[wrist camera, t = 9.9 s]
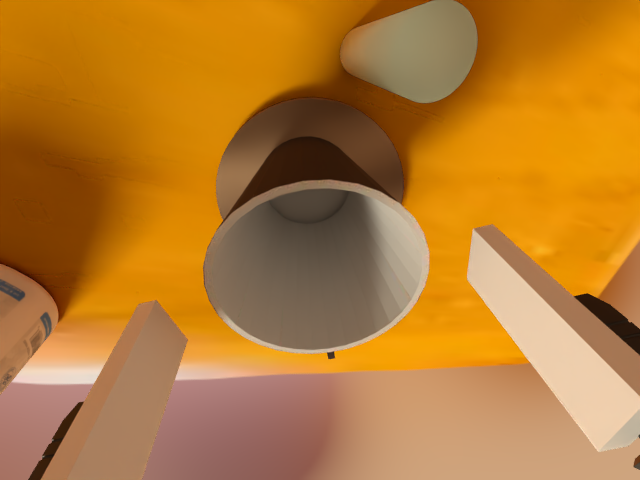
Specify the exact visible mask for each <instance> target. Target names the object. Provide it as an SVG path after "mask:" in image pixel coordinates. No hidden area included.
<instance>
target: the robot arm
mask: <svg viewBox="0 0 640 480" xmlns="http://www.w3.org/2000/svg"><path fill="white" fill-rule="evenodd" d="M467 280H468V281H469V282H470V284H471V285H472V286H473V287H474V289H475V290H476V291H477V293H478V294H479V295H480V297H481V298H482V299H483V301H484V302H485V303H486V305H487V306H488V307H489V309H490V310H491V311H492V313H493V314H494V315H495V316H496V318H497V319H498V320H499V322H500V323H501V324H502V326H503V327H504V328H505V330H506V331H507V332H508V334H509V335H510V336H511V338H512V339H513V340H514V342H515V343H516V344H517V345H518V347H519V348H520V349H521V351H522V352H523V353H524V355H525V356H526V357H527V359H528V360H529V361H530V363H531V364H532V365H533V367H534V368H535V369H536V371H537V372H538V373H539V374H540V376H541V377H542V378H543V380H544V381H545V382H546V384H547V385H548V386H549V388H550V389H551V390H552V392H553V393H554V394H555V396H556V397H557V398H558V399H559V401H560V402H561V403H562V405H563V406H564V407H565V409H566V410H567V411H568V413H569V414H570V415H571V417H572V418H573V419H574V421H575V422H576V423H577V425H578V426H579V427H580V428H581V430H582V431H583V432H584V434H585V435H586V436H587V438H588V439H589V440H590V442H591V443H592V444H593V446H594V447H595V448H596V450H598V452H600V451H606V450H611V449H616V448H621V447H626V446H629V445H630V444H631V443H632V442H633V441H634V440H635V439H637V438H638V437H639V438H640V329H639V328H638V327H637V326H635V325H634V324H633V323H632V322H631V323H630V322H628V319H627V318H626V317H624V316H623V315H622V314H621V313H619V312H618V311H617V310H616V309H615V308H613V307H612V306H611V305H610V304H608V303H606V302H604V301H602V300H600V299H598V298H596V297H594V296H592V295H590V294H588V293H587V294H582V295H578V296H572V295H571V294H570V293H569V292H568V291H567V290H566V289H565V288H563V287H562V286H561V285H560V284H559V283H558V282H557V281H556V280H554V279H553V278H552V277H551V276H550V275H549V274H548V273H547V272H545V271H544V270H543V269H542V268H541V267H540V266H539V265H538V264H536V263H535V262H534V261H533V260H532V259H531V258H530V257H529V256H527V255H526V254H525V253H524V252H523V251H522V250H521V249H520V248H519V247H517V246H516V245H515V244H514V243H513V242H512V241H511V240H510V239H508V238H507V237H506V236H505V235H504V234H503V233H502V232H501V231H499V230H498V229H497V228H496V227H495V226H494V225H493V224H492V225H487V226H483V227H479V228H474V229H473V234H472V242H471V250H470V258H469V266H468V274H467ZM187 341H188V339H187V338H186V337H185V336H184V334H183V333H182V332H181V331H180V329H179V328H178V327H177V326H176V324H175V323H174V322H173V321H172V319H171V318H170V317H169V316H168V314H167V313H166V312H165V311H164V309H163V308H162V307H161V305H160V304H159V303H158V302H157V300H155V301H151V302H146V303H142V304H139V305H138V306H137V308H136V310H135V312H134V314H133V315H132V317H131V319H130V321H129V322H128V324H127V326H126V328H125V330H124V331H123V333H122V335H121V337H120V339H119V340H118V342H117V344H116V346H115V347H114V349H113V351H112V353H111V355H110V356H109V358H108V360H107V362H106V364H105V365H104V367H103V369H102V371H101V373H100V374H99V376H98V378H97V380H96V381H95V383H94V385H93V387H92V389H91V391H90V392H89V394H88V396H87V398H86V399H85V401H84V402H79V403H78V404H77V405H76V406H75V408H73V410H72V411H71V412H70V413H69V414H68V415H67V417H66V418H65V419H64V420H63V421H62V423H61V425H60V427H59V428H58V430H57V432H56V433H55V435H54V437H53V438H52V443H51V444H49V445H48V447H47V449H46V450H45V452H44V454H43V456H42V460H41V461H39V462H38V464H37V466H36V467H35V470H34V471H33V472H32V474H31V476H30V478H29V479H28V480H142V477H143V474H144V471H145V468H146V465H147V462H148V459H149V456H150V453H151V450H152V447H153V444H154V441H155V438H156V435H157V432H158V429H159V426H160V423H161V419H162V416H163V414H164V411H165V407H166V404H167V401H168V398H169V395H170V392H171V389H172V386H173V383H174V380H175V377H176V374H177V371H178V368H179V365H180V362H181V359H182V356H183V353H184V350H185V347H186V344H187ZM634 467H635V468H637V469H639V470H640V455H639V456H638V457H637V458H636V459H635V462H634Z"/></svg>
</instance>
